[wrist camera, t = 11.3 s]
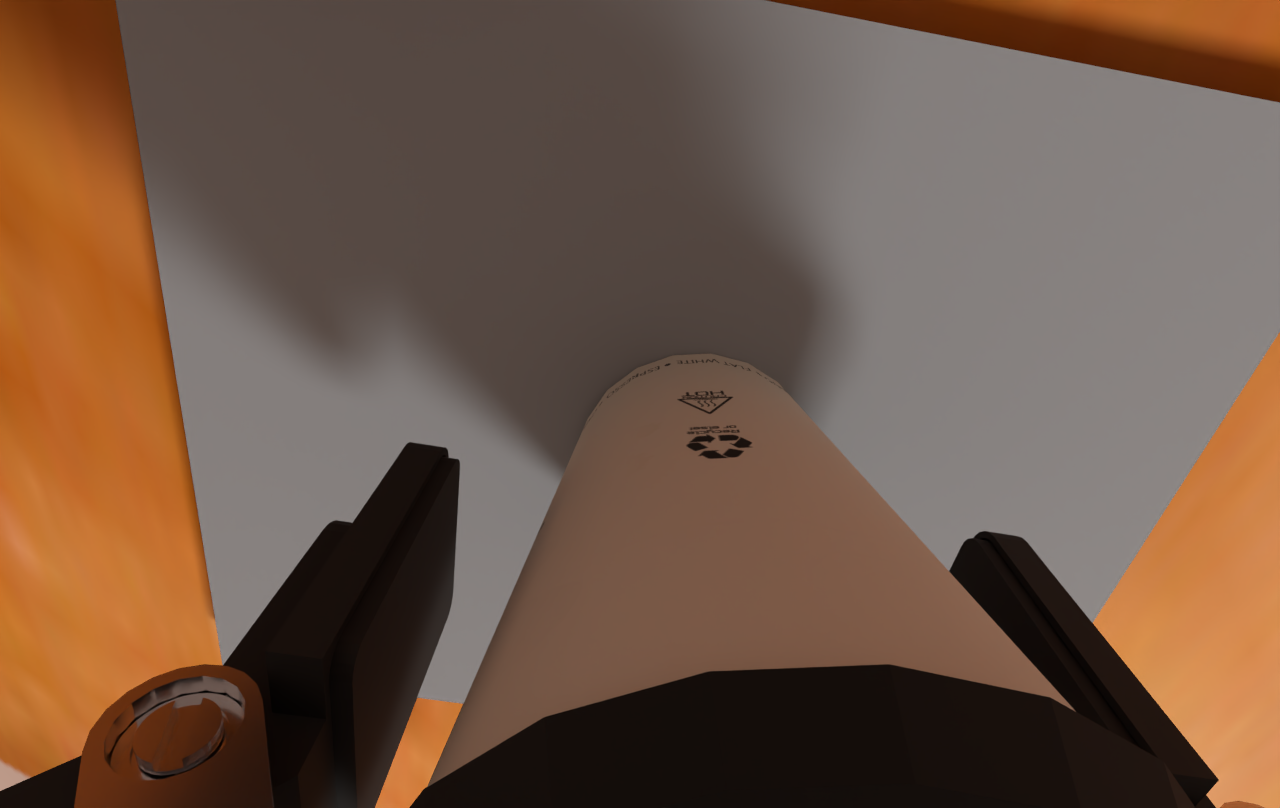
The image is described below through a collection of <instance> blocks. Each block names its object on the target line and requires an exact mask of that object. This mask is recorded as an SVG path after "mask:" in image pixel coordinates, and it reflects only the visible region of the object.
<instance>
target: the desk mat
mask: <svg viewBox="0 0 1280 808" xmlns="http://www.w3.org/2000/svg"><path fill="white" fill-rule="evenodd" d="M115 1H116V7H117V13H118V19H119V26H120V32H121V38H122V44H123V50H124V57H125V63H126V69H127V75H128V81H129V88H130V94H131V100H132V106H133V112H134V119H135V125H136V131H137V137H138V143H139V150H140V156H141V162H142V168H143V174H144V181H145V187H146V193H147V199H148V205H149V212H150V218H151V224H152V230H153V236H154V243H155V249H156V255H157V261H158V267H159V274H160V280H161V286H162V292H163V298H164V305H165V311H166V317H167V323H168V329H169V336H170V342H171V348H172V354H173V360H174V367H175V373H176V379H177V385H178V391H179V398H180V404H181V410H182V416H183V422H184V429H185V435H186V441H187V447H188V453H189V460H190V466H191V472H192V478H193V484H194V491H195V497H196V503H197V509H198V515H199V522H200V528H201V534H202V540H203V546H204V553H205V559H206V565H207V571H208V577H209V584H210V590H211V596H212V602H213V608H214V615H215V621H216V627H217V633H218V639H219V646H220V652H221V658H222V664H223V665H224V663H225V662H226V660H227V659H228V658H229V656H230V655H231V654H232V652H233V651H234V650H235V648H236V647H237V646H238V644H239V643H240V641H241V640H242V639H243V637H244V636H245V635H246V633H247V632H248V631H249V629H250V628H251V627H252V625H253V624H254V622H255V621H256V620H257V618H258V617H259V616H260V614H261V613H262V612H263V610H264V609H265V608H266V606H267V605H268V604H269V602H270V601H271V599H272V598H273V597H274V595H275V594H276V593H277V591H278V590H279V589H280V587H281V586H282V585H283V583H284V582H285V580H286V579H287V578H288V576H289V575H290V574H291V572H292V571H293V570H294V568H295V567H296V566H297V564H298V563H299V562H300V560H301V559H302V557H303V556H304V555H305V553H306V552H307V551H308V549H309V548H310V547H311V545H312V544H313V543H314V541H315V540H316V538H317V537H318V536H319V534H320V533H321V532H322V530H323V529H324V528H325V527H326V526H327V525H328V524H329V523H330V522H332V521H335V520H338V521H345V522H351V523H353V521H354V520H355V518H356V517H357V515H358V514H359V513H360V511H361V510H362V508H363V507H364V505H365V504H366V502H367V501H368V499H369V498H370V496H371V495H372V494H373V492H374V491H375V489H376V488H377V486H378V485H379V483H380V482H381V480H382V479H383V477H384V476H385V474H386V473H387V472H388V470H389V469H390V467H391V466H392V464H393V463H394V461H395V460H396V458H397V457H398V455H399V454H400V453H401V451H402V450H403V448H404V447H405V445H406V444H407V443H409V442H413V443H420V444H426V445H433V446H439V447H445V448H447V449H448V454H449V458H454V459H459V461H460V478H459V496H458V515H457V533H456V552H455V570H454V589H453V599H452V604H451V609H450V612H449V616H448V619H447V621H446V624H445V626H444V629H443V632H442V634H441V637H440V639H439V642H438V645H437V647H436V650H435V652H434V655H433V658H432V660H431V663H430V665H429V668H428V671H427V673H426V676H425V678H424V681H423V683H422V686H421V689H420V691H419V694H418V696H417V698H424V699H432V700H439V701H447V702H455V703H462V704H464V702H465V699H466V697H467V695H468V692H469V690H470V688H471V685H472V683H473V681H474V679H475V676H476V674H477V672H478V669H479V667H480V665H481V662H482V660H483V658H484V656H485V653H486V651H487V649H488V646H489V644H490V642H491V640H492V637H493V635H494V633H495V630H496V628H497V626H498V623H499V621H500V619H501V617H502V614H503V612H504V610H505V607H506V605H507V603H508V601H509V598H510V596H511V594H512V591H513V589H514V587H515V584H516V582H517V580H518V578H519V575H520V573H521V571H522V568H523V566H524V564H525V561H526V559H527V557H528V555H529V552H530V550H531V548H532V545H533V543H534V541H535V539H536V536H537V534H538V532H539V529H540V527H541V525H542V522H543V520H544V518H545V516H546V513H547V511H548V509H549V506H550V504H551V502H552V500H553V497H554V495H555V493H556V490H557V488H558V486H559V483H560V481H561V479H562V477H563V474H564V472H565V470H566V467H567V465H568V463H569V460H570V458H571V456H572V454H573V451H574V449H575V447H576V444H577V442H578V440H579V438H580V435H581V433H582V431H583V428H584V426H585V424H586V421H587V419H588V417H589V416H590V414H591V413H592V412H593V410H594V409H595V407H596V406H597V404H598V403H599V401H600V400H601V399H602V397H603V396H604V394H605V393H606V391H607V390H608V389H609V388H611V387H612V386H613V385H615V384H616V383H617V382H619V381H620V380H621V379H623V378H624V377H625V376H627V375H628V374H629V373H631V372H632V371H633V370H635V369H636V368H638V367H641V366H644V365H647V364H650V363H652V362H655V361H658V360H661V359H664V358H667V357H669V356H672V355H690V354H715V355H719V356H723V357H727V358H731V359H734V360H738V361H742V362H746V363H749V364H750V365H752V366H753V367H755V368H756V369H758V370H760V371H761V372H763V373H764V374H766V375H767V376H769V377H770V378H772V379H774V380H775V381H777V382H778V383H779V384H780V385H781V386H782V387H783V389H784V390H785V391H786V392H787V393H788V394H789V395H790V396H791V397H792V398H793V400H794V401H795V402H796V403H797V404H798V405H799V406H800V407H801V408H802V409H803V411H804V412H805V413H806V414H807V415H808V416H809V417H810V418H811V419H812V421H813V422H814V423H815V424H816V425H817V426H818V427H819V428H820V429H821V430H822V432H823V433H824V434H825V435H826V436H827V437H828V438H829V439H830V440H831V442H832V443H833V444H834V445H835V446H836V447H837V448H838V449H839V450H840V451H841V453H842V454H843V455H844V456H845V457H846V458H847V459H848V460H849V461H850V463H851V464H852V465H853V466H854V467H855V468H856V469H857V470H858V471H859V472H860V474H861V475H862V476H863V477H864V478H865V479H866V480H867V481H868V482H869V484H870V485H871V486H872V487H873V488H874V489H875V490H876V491H877V492H878V493H879V495H880V496H881V497H882V498H883V499H884V500H885V501H886V502H887V503H888V505H889V506H890V507H891V508H892V509H893V510H894V511H895V512H896V513H897V514H898V516H899V517H900V518H901V519H902V520H903V521H904V522H905V523H906V524H907V526H908V527H909V528H910V529H911V530H912V531H913V532H914V533H915V534H916V535H917V537H918V538H919V539H920V540H921V541H922V542H923V543H924V544H925V545H926V546H927V548H928V549H929V550H930V551H931V552H932V553H933V554H934V555H935V556H936V558H937V559H938V560H939V561H940V562H941V563H942V564H943V565H944V566H945V567H946V569H947V570H948V571H949V570H950V568H951V566H952V564H953V562H954V560H955V558H956V556H957V554H958V552H959V550H960V548H961V546H962V544H963V543H964V541H966V540H967V539H970V538H974V536H975V535H976V534H978V533H979V532H982V531H988V532H995V533H1001V534H1008V535H1014V536H1019V537H1022V538H1023V539H1024V540H1025V541H1027V542H1028V544H1029V545H1030V546H1031V547H1032V549H1033V550H1034V551H1035V552H1036V554H1037V555H1038V556H1039V557H1040V559H1041V560H1042V561H1043V562H1044V564H1045V565H1046V566H1047V567H1048V569H1049V570H1050V571H1051V572H1052V573H1053V575H1054V576H1055V577H1056V578H1057V580H1058V581H1059V582H1060V583H1061V585H1062V586H1063V587H1064V588H1065V590H1066V591H1067V592H1068V593H1069V595H1070V596H1071V597H1072V598H1073V600H1074V601H1075V602H1076V603H1077V605H1078V606H1079V607H1080V608H1081V610H1082V611H1083V612H1084V613H1085V614H1086V616H1087V617H1088V618H1089V619H1090V621H1091V622H1092V623H1093V621H1094V620H1095V618H1096V617H1097V615H1098V614H1099V612H1100V610H1101V609H1102V607H1103V606H1104V604H1105V603H1106V601H1107V600H1108V598H1109V596H1110V595H1111V593H1112V592H1113V590H1114V589H1115V587H1116V586H1117V584H1118V582H1119V581H1120V579H1121V578H1122V576H1123V575H1124V573H1125V572H1126V570H1127V568H1128V567H1129V565H1130V564H1131V562H1132V561H1133V559H1134V558H1135V556H1136V554H1137V553H1138V551H1139V550H1140V548H1141V547H1142V545H1143V544H1144V542H1145V540H1146V539H1147V537H1148V536H1149V534H1150V533H1151V531H1152V530H1153V528H1154V526H1155V525H1156V523H1157V522H1158V520H1159V519H1160V517H1161V516H1162V514H1163V512H1164V511H1165V509H1166V508H1167V506H1168V505H1169V503H1170V501H1171V500H1172V498H1173V497H1174V495H1175V494H1176V492H1177V491H1178V489H1179V487H1180V486H1181V484H1182V483H1183V481H1184V480H1185V478H1186V477H1187V475H1188V473H1189V472H1190V470H1191V469H1192V467H1193V466H1194V464H1195V463H1196V461H1197V459H1198V458H1199V456H1200V455H1201V453H1202V452H1203V450H1204V449H1205V447H1206V445H1207V444H1208V442H1209V441H1210V439H1211V438H1212V436H1213V435H1214V433H1215V431H1216V430H1217V428H1218V427H1219V425H1220V424H1221V422H1222V421H1223V419H1224V417H1225V416H1226V414H1227V413H1228V411H1229V410H1230V408H1231V407H1232V405H1233V403H1234V402H1235V400H1236V399H1237V397H1238V396H1239V394H1240V393H1241V391H1242V389H1243V388H1244V386H1245V385H1246V383H1247V382H1248V380H1249V379H1250V377H1251V375H1252V374H1253V372H1254V371H1255V369H1256V368H1257V366H1258V365H1259V363H1260V361H1261V360H1262V358H1263V357H1264V355H1265V354H1266V352H1267V351H1268V349H1269V347H1270V346H1271V344H1272V343H1273V341H1274V340H1275V338H1276V337H1277V335H1278V333H1279V332H1280V103H1279V102H1274V101H1269V100H1264V99H1259V98H1254V97H1249V96H1244V95H1239V94H1234V93H1229V92H1224V91H1219V90H1214V89H1209V88H1204V87H1199V86H1194V85H1189V84H1184V83H1179V82H1174V81H1169V80H1164V79H1159V78H1154V77H1149V76H1143V75H1138V74H1133V73H1128V72H1123V71H1118V70H1113V69H1108V68H1103V67H1098V66H1093V65H1088V64H1083V63H1078V62H1073V61H1068V60H1063V59H1058V58H1053V57H1048V56H1043V55H1038V54H1033V53H1028V52H1023V51H1018V50H1013V49H1008V48H1003V47H998V46H993V45H988V44H983V43H978V42H973V41H967V40H962V39H957V38H952V37H947V36H942V35H937V34H932V33H927V32H922V31H917V30H912V29H907V28H902V27H897V26H892V25H887V24H882V23H877V22H872V21H867V20H862V19H857V18H852V17H847V16H842V15H837V14H832V13H827V12H822V11H817V10H812V9H807V8H802V7H797V6H791V5H786V4H781V3H776V2H771V1H766V0H115Z"/></svg>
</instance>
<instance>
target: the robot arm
mask: <svg viewBox="0 0 1280 808" xmlns="http://www.w3.org/2000/svg"><path fill="white" fill-rule="evenodd" d="M459 478H460V461H459V459H454V458H449V454H448V449H447V448H445V447H439V446H433V445H426V444H420V443H413V442H409V443H407V444H406V445H405V447H404V448H403V450H402V451H401V453H400V454H399V455H398V457H397V458H396V460H395V461H394V463H393V464H392V466H391V467H390V469H389V470H388V472H387V473H386V474H385V476H384V477H383V479H382V480H381V482H380V483H379V485H378V486H377V488H376V489H375V491H374V492H373V494H372V495H371V496H370V498H369V499H368V501H367V502H366V504H365V505H364V507H363V508H362V510H361V511H360V513H359V514H358V515H357V517H356V518H355V520H354V521H353V523H351V522H345V521H338V520H335V521H332V522H330V523H329V524H328V525H327V526H326V527H325V528H324V529H323V530H322V532H321V533H320V534H319V536H318V537H317V538H316V540H315V541H314V543H313V544H312V545H311V547H310V548H309V549H308V551H307V552H306V553H305V555H304V556H303V557H302V559H301V560H300V562H299V563H298V564H297V566H296V567H295V568H294V570H293V571H292V572H291V574H290V575H289V576H288V578H287V579H286V580H285V582H284V583H283V585H282V586H281V587H280V589H279V590H278V591H277V593H276V594H275V595H274V597H273V598H272V599H271V601H270V602H269V604H268V605H267V606H266V608H265V609H264V610H263V612H262V613H261V614H260V616H259V617H258V618H257V620H256V621H255V622H254V624H253V625H252V627H251V628H250V629H249V631H248V632H247V633H246V635H245V636H244V637H243V639H242V640H241V641H240V643H239V644H238V646H237V647H236V648H235V650H234V651H233V652H232V654H231V655H230V656H229V658H228V659H227V660H226V662H225V663H224V665H223V666H221V665H206V664H203V665H197V666H191V667H184V668H178V669H176V670H173V671H170V672H167V673H164V674H161V675H159V676H156V677H153V678H151V679H149V680H147V681H146V682H144V683H142V684H140V685H139V686H137V687H135V688H133V689H131V690H130V691H128V692H127V693H125V694H124V695H123V696H122V697H121V698H119V699H118V700H117V701H116V702H115V703H113V704H112V705H111V706H110V707H109V708H107V709H106V710H105V712H104V713H103V714H102V716H101V717H100V718H99V719H98V721H97V722H96V723H95V725H94V726H93V727H92V729H91V730H90V732H89V735H88V738H87V740H86V743H85V746H84V749H83V751H82V756H79V757H77V758H75V759H73V760H70V761H68V762H66V763H63V764H61V765H59V766H57V767H54V768H52V769H50V770H47V771H45V772H43V773H41V774H38V775H36V776H34V777H32V778H29V779H27V780H25V781H22V782H20V783H18V784H16V785H14V786H11V787H9V788H6V789H4V790H2V791H0V808H375V805H376V803H377V800H378V798H379V795H380V793H381V790H382V787H383V785H384V782H385V780H386V777H387V774H388V772H389V769H390V767H391V764H392V761H393V759H394V756H395V754H396V751H397V748H398V746H399V743H400V741H401V738H402V735H403V733H404V730H405V728H406V725H407V722H408V720H409V717H410V715H411V712H412V709H413V707H414V704H415V702H416V699H417V696H418V694H419V691H420V689H421V686H422V683H423V681H424V678H425V676H426V673H427V671H428V668H429V665H430V663H431V660H432V658H433V655H434V652H435V650H436V647H437V645H438V642H439V639H440V637H441V634H442V632H443V629H444V626H445V624H446V621H447V619H448V616H449V612H450V609H451V604H452V599H453V589H454V570H455V552H456V533H457V515H458V496H459ZM949 572H950V573H951V574H952V575H953V576H954V577H955V579H956V580H957V581H958V582H959V583H960V584H961V585H962V586H963V587H964V588H965V590H966V591H967V592H968V593H969V594H970V595H971V596H972V597H973V598H974V600H975V601H976V602H977V603H978V604H979V605H980V606H981V607H982V608H983V609H984V611H985V612H986V613H987V614H988V615H989V616H990V617H991V618H992V619H993V621H994V622H995V623H996V624H997V625H998V626H999V627H1000V628H1001V629H1002V630H1003V632H1004V633H1005V634H1006V635H1007V636H1008V637H1009V638H1010V639H1011V640H1012V642H1013V643H1014V644H1015V645H1016V646H1017V647H1018V648H1019V649H1020V650H1021V651H1022V653H1023V654H1024V655H1025V656H1026V657H1027V658H1028V659H1029V660H1030V661H1031V662H1032V664H1033V665H1034V666H1035V667H1036V668H1037V669H1038V670H1039V671H1040V672H1041V674H1042V675H1043V676H1044V677H1045V678H1046V679H1047V680H1048V681H1049V682H1050V683H1051V685H1052V686H1053V687H1054V688H1055V689H1056V690H1057V691H1058V692H1059V693H1060V695H1061V696H1062V697H1063V698H1064V699H1065V700H1066V701H1067V702H1068V703H1069V704H1070V706H1071V707H1072V708H1073V709H1074V710H1075V711H1076V712H1077V713H1079V714H1081V715H1082V716H1084V717H1086V718H1088V719H1090V720H1091V721H1093V722H1095V723H1097V724H1098V725H1100V726H1102V727H1104V728H1105V729H1107V730H1109V731H1111V732H1113V733H1114V734H1116V735H1118V736H1120V737H1121V738H1123V739H1125V740H1127V741H1128V742H1130V743H1132V744H1134V745H1136V746H1137V747H1139V748H1141V749H1143V750H1144V751H1146V752H1148V753H1150V754H1151V755H1153V756H1155V757H1157V758H1159V759H1160V760H1162V761H1164V763H1165V764H1166V766H1167V767H1168V769H1169V770H1170V771H1171V773H1172V774H1173V776H1174V777H1175V779H1176V780H1177V782H1178V783H1179V785H1180V786H1181V787H1182V789H1183V790H1184V792H1185V793H1186V795H1187V796H1188V798H1189V799H1190V801H1191V802H1192V804H1193V805H1194V806H1195V808H1216V807H1215V806H1214V805H1213V803H1212V802H1211V801H1210V799H1209V798H1208V797H1207V796H1206V794H1207V793H1208V792H1209V791H1210V789H1211V788H1212V787H1213V786H1214V785H1215V784H1216V783H1217V782H1218V778H1217V777H1216V776H1215V775H1214V773H1213V772H1212V771H1211V770H1210V769H1209V767H1208V766H1207V765H1206V764H1205V762H1204V761H1203V760H1202V759H1201V757H1200V756H1199V755H1198V754H1197V752H1196V751H1195V750H1194V749H1193V747H1192V746H1191V745H1190V744H1189V742H1188V741H1187V740H1186V739H1185V737H1184V736H1183V735H1182V734H1181V733H1180V731H1179V730H1178V729H1177V728H1176V726H1175V725H1174V724H1173V723H1172V721H1171V720H1170V719H1169V718H1168V716H1167V715H1166V714H1165V713H1164V711H1163V710H1162V709H1161V708H1160V706H1159V705H1158V704H1157V703H1156V701H1155V700H1154V699H1153V698H1152V696H1151V695H1150V694H1149V693H1148V692H1147V690H1146V689H1145V688H1144V687H1143V685H1142V684H1141V683H1140V682H1139V680H1138V679H1137V678H1136V677H1135V675H1134V674H1133V673H1132V672H1131V670H1130V669H1129V668H1128V667H1127V665H1126V664H1125V663H1124V662H1123V660H1122V659H1121V658H1120V657H1119V655H1118V654H1117V653H1116V652H1115V651H1114V649H1113V648H1112V647H1111V646H1110V644H1109V643H1108V642H1107V641H1106V639H1105V638H1104V637H1103V636H1102V634H1101V633H1100V632H1099V631H1098V629H1097V628H1096V627H1095V626H1094V624H1093V623H1092V622H1091V621H1090V619H1089V618H1088V617H1087V616H1086V614H1085V613H1084V612H1083V611H1082V610H1081V608H1080V607H1079V606H1078V605H1077V603H1076V602H1075V601H1074V600H1073V598H1072V597H1071V596H1070V595H1069V593H1068V592H1067V591H1066V590H1065V588H1064V587H1063V586H1062V585H1061V583H1060V582H1059V581H1058V580H1057V578H1056V577H1055V576H1054V575H1053V573H1052V572H1051V571H1050V570H1049V569H1048V567H1047V566H1046V565H1045V564H1044V562H1043V561H1042V560H1041V559H1040V557H1039V556H1038V555H1037V554H1036V552H1035V551H1034V550H1033V549H1032V547H1031V546H1030V545H1029V544H1028V542H1027V541H1025V540H1024V539H1023V538H1022V537H1019V536H1014V535H1008V534H1001V533H995V532H988V531H982V532H979V533H978V534H976V535H975V536H974V538H970V539H967V540H966V541H964V543H963V544H962V546H961V548H960V550H959V552H958V554H957V556H956V558H955V560H954V562H953V564H952V566H951V568H950V570H949ZM1220 808H1264V807H1262V806H1259V805H1256V804H1251V803H1246V802H1241V801H1235V802H1228V803H1224V804H1223V805H1222V806H1221V807H1220Z"/></svg>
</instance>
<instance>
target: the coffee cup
mask: <svg viewBox="0 0 1280 808" xmlns="http://www.w3.org/2000/svg"><path fill="white" fill-rule="evenodd" d="M410 808H1195V806H1194V805H1193V804H1192V802H1191V801H1190V799H1189V798H1188V796H1187V795H1186V793H1185V792H1184V790H1183V789H1182V787H1181V786H1180V785H1179V783H1178V782H1177V780H1176V779H1175V777H1174V776H1173V774H1172V773H1171V771H1170V770H1169V769H1168V767H1167V766H1166V764H1165V763H1164V761H1162V760H1160V759H1159V758H1157V757H1155V756H1153V755H1151V754H1150V753H1148V752H1146V751H1144V750H1143V749H1141V748H1139V747H1137V746H1136V745H1134V744H1132V743H1130V742H1128V741H1127V740H1125V739H1123V738H1121V737H1120V736H1118V735H1116V734H1114V733H1113V732H1111V731H1109V730H1107V729H1105V728H1104V727H1102V726H1100V725H1098V724H1097V723H1095V722H1093V721H1091V720H1090V719H1088V718H1086V717H1084V716H1082V715H1081V714H1079V713H1077V712H1076V711H1075V710H1074V709H1073V708H1072V707H1071V706H1070V704H1069V703H1068V702H1067V701H1066V700H1065V699H1064V698H1063V697H1062V696H1061V695H1060V693H1059V692H1058V691H1057V690H1056V689H1055V688H1054V687H1053V686H1052V685H1051V683H1050V682H1049V681H1048V680H1047V679H1046V678H1045V677H1044V676H1043V675H1042V674H1041V672H1040V671H1039V670H1038V669H1037V668H1036V667H1035V666H1034V665H1033V664H1032V662H1031V661H1030V660H1029V659H1028V658H1027V657H1026V656H1025V655H1024V654H1023V653H1022V651H1021V650H1020V649H1019V648H1018V647H1017V646H1016V645H1015V644H1014V643H1013V642H1012V640H1011V639H1010V638H1009V637H1008V636H1007V635H1006V634H1005V633H1004V632H1003V630H1002V629H1001V628H1000V627H999V626H998V625H997V624H996V623H995V622H994V621H993V619H992V618H991V617H990V616H989V615H988V614H987V613H986V612H985V611H984V609H983V608H982V607H981V606H980V605H979V604H978V603H977V602H976V601H975V600H974V598H973V597H972V596H971V595H970V594H969V593H968V592H967V591H966V590H965V588H964V587H963V586H962V585H961V584H960V583H959V582H958V581H957V580H956V579H955V577H954V576H953V575H952V574H951V573H950V572H949V571H948V570H947V569H946V567H945V566H944V565H943V564H942V563H941V562H940V561H939V560H938V559H937V558H936V556H935V555H934V554H933V553H932V552H931V551H930V550H929V549H928V548H927V546H926V545H925V544H924V543H923V542H922V541H921V540H920V539H919V538H918V537H917V535H916V534H915V533H914V532H913V531H912V530H911V529H910V528H909V527H908V526H907V524H906V523H905V522H904V521H903V520H902V519H901V518H900V517H899V516H898V514H897V513H896V512H895V511H894V510H893V509H892V508H891V507H890V506H889V505H888V503H887V502H886V501H885V500H884V499H883V498H882V497H881V496H880V495H879V493H878V492H877V491H876V490H875V489H874V488H873V487H872V486H871V485H870V484H869V482H868V481H867V480H866V479H865V478H864V477H863V476H862V475H861V474H860V472H859V471H858V470H857V469H856V468H855V467H854V466H853V465H852V464H851V463H850V461H849V460H848V459H847V458H846V457H845V456H844V455H843V454H842V453H841V451H840V450H839V449H838V448H837V447H836V446H835V445H834V444H833V443H832V442H831V440H830V439H829V438H828V437H827V436H826V435H825V434H824V433H823V432H822V430H821V429H820V428H819V427H818V426H817V425H816V424H815V423H814V422H813V421H812V419H811V418H810V417H809V416H808V415H807V414H806V413H805V412H804V411H803V409H802V408H801V407H800V406H799V405H798V404H797V403H796V402H795V401H794V400H793V398H792V397H791V396H790V395H789V394H788V393H787V392H786V391H785V390H784V389H783V387H782V386H781V385H780V384H779V383H778V382H777V381H775V380H774V379H772V378H770V377H769V376H767V375H766V374H764V373H763V372H761V371H760V370H758V369H756V368H755V367H753V366H752V365H750V364H749V363H746V362H742V361H738V360H734V359H731V358H727V357H723V356H719V355H715V354H690V355H672V356H669V357H667V358H664V359H661V360H658V361H655V362H652V363H650V364H647V365H644V366H641V367H638V368H636V369H635V370H633V371H632V372H631V373H629V374H628V375H627V376H625V377H624V378H623V379H621V380H620V381H619V382H617V383H616V384H615V385H613V386H612V387H611V388H609V389H608V390H607V391H606V393H605V394H604V396H603V397H602V399H601V400H600V401H599V403H598V404H597V406H596V407H595V409H594V410H593V412H592V413H591V414H590V416H589V417H588V419H587V421H586V424H585V426H584V428H583V431H582V433H581V435H580V438H579V440H578V442H577V444H576V447H575V449H574V451H573V454H572V456H571V458H570V460H569V463H568V465H567V467H566V470H565V472H564V474H563V477H562V479H561V481H560V483H559V486H558V488H557V490H556V493H555V495H554V497H553V500H552V502H551V504H550V506H549V509H548V511H547V513H546V516H545V518H544V520H543V522H542V525H541V527H540V529H539V532H538V534H537V536H536V539H535V541H534V543H533V545H532V548H531V550H530V552H529V555H528V557H527V559H526V561H525V564H524V566H523V568H522V571H521V573H520V575H519V578H518V580H517V582H516V584H515V587H514V589H513V591H512V594H511V596H510V598H509V601H508V603H507V605H506V607H505V610H504V612H503V614H502V617H501V619H500V621H499V623H498V626H497V628H496V630H495V633H494V635H493V637H492V640H491V642H490V644H489V646H488V649H487V651H486V653H485V656H484V658H483V660H482V662H481V665H480V667H479V669H478V672H477V674H476V676H475V679H474V681H473V683H472V685H471V688H470V690H469V692H468V695H467V697H466V699H465V702H464V704H463V706H462V708H461V711H460V713H459V715H458V718H457V720H456V722H455V724H454V727H453V729H452V731H451V734H450V736H449V738H448V741H447V743H446V745H445V747H444V750H443V752H442V754H441V757H440V759H439V761H438V764H437V766H436V768H435V770H434V773H433V775H432V777H431V780H430V782H429V784H428V786H427V788H425V789H424V790H423V791H422V792H421V794H420V795H419V796H418V797H417V799H416V800H415V801H414V803H413V804H412V805H411V806H410Z"/></svg>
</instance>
